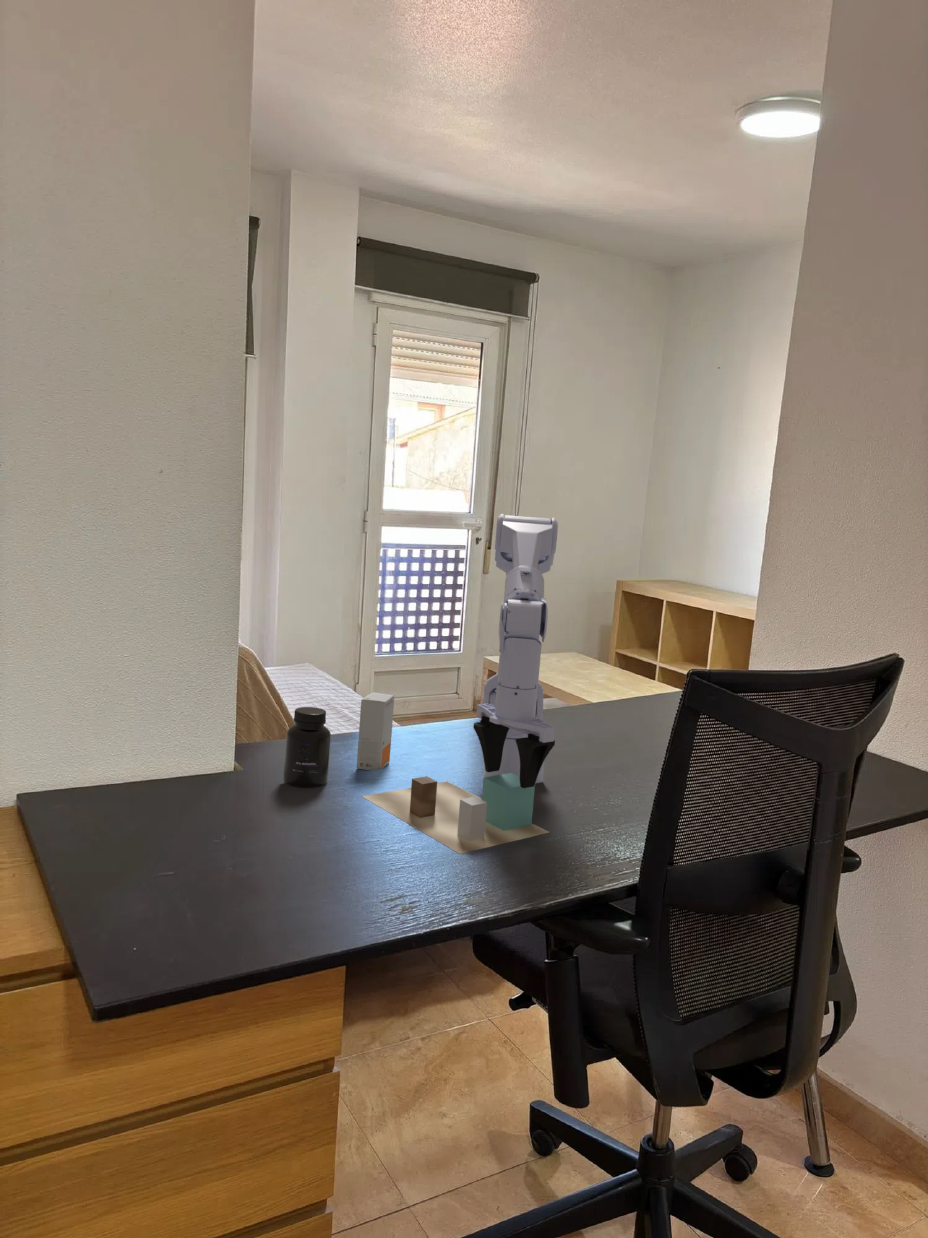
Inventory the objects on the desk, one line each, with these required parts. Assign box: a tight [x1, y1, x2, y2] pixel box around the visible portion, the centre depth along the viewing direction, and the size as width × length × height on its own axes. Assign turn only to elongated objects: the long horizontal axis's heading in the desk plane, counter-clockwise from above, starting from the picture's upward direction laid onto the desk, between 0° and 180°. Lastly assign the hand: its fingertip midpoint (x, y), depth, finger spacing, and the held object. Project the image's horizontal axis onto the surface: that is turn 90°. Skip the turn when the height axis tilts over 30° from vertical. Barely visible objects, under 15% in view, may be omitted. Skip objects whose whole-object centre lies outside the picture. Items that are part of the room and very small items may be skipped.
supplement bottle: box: [283, 706, 332, 789], centre depth 140 cm, size 7×7×12 cm
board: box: [361, 781, 550, 855], centre depth 132 cm, size 16×24×1 cm, turn 38°
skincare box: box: [356, 691, 395, 771], centre depth 153 cm, size 6×4×12 cm
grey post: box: [457, 797, 487, 841], centre depth 123 cm, size 3×3×5 cm
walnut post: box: [410, 775, 438, 818], centre depth 130 cm, size 3×3×5 cm
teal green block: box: [481, 773, 536, 831], centre depth 130 cm, size 5×5×6 cm
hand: (509, 778), depth 129 cm, fingers open, 7 cm apart
